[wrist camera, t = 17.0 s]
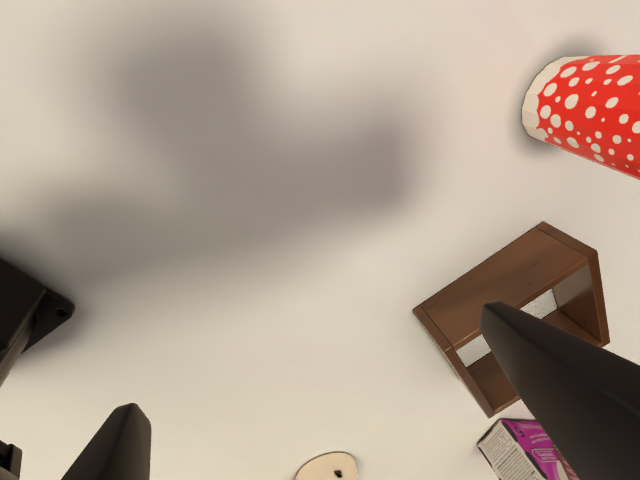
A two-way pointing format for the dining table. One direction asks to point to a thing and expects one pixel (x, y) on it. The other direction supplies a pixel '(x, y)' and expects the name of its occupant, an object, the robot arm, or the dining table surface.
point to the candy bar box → (523, 452)
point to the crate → (517, 304)
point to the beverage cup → (589, 109)
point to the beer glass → (329, 468)
